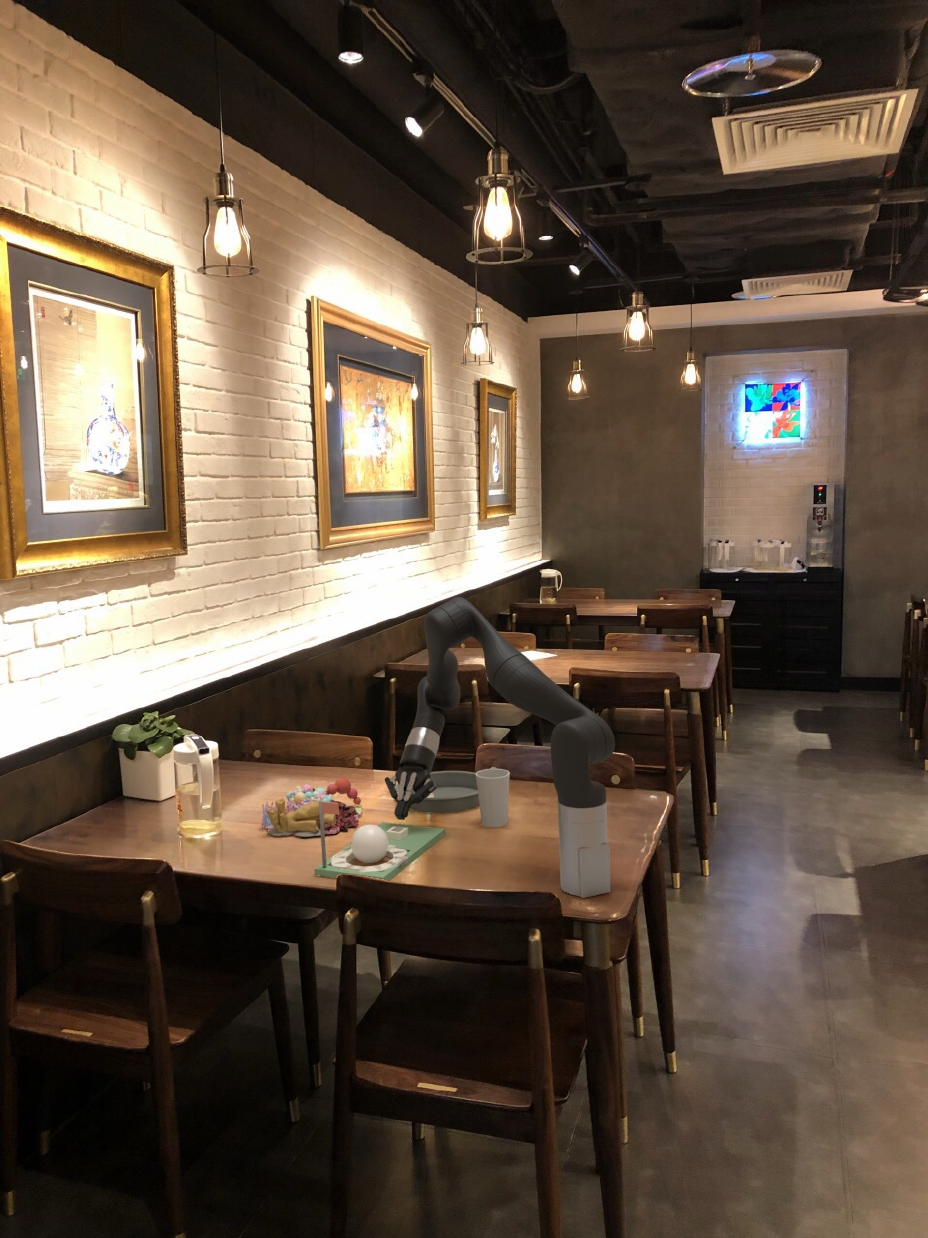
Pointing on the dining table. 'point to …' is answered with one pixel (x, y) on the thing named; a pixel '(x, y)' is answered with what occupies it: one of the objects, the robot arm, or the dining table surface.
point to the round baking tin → (450, 793)
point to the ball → (369, 843)
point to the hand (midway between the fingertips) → (399, 818)
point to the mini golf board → (401, 851)
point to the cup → (493, 796)
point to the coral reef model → (312, 811)
